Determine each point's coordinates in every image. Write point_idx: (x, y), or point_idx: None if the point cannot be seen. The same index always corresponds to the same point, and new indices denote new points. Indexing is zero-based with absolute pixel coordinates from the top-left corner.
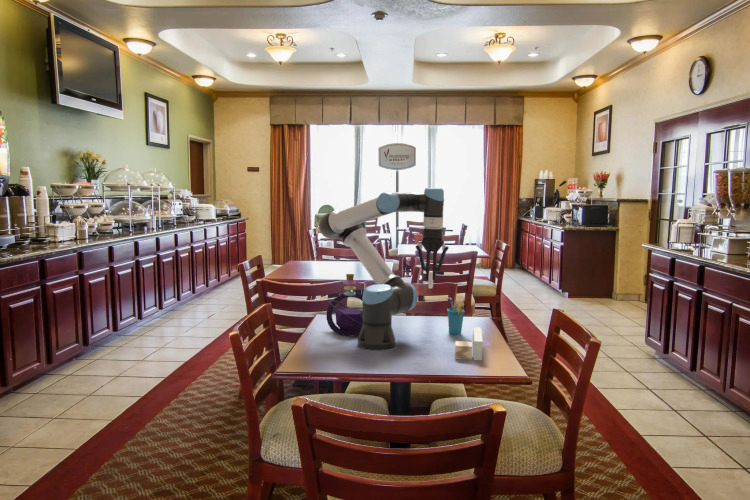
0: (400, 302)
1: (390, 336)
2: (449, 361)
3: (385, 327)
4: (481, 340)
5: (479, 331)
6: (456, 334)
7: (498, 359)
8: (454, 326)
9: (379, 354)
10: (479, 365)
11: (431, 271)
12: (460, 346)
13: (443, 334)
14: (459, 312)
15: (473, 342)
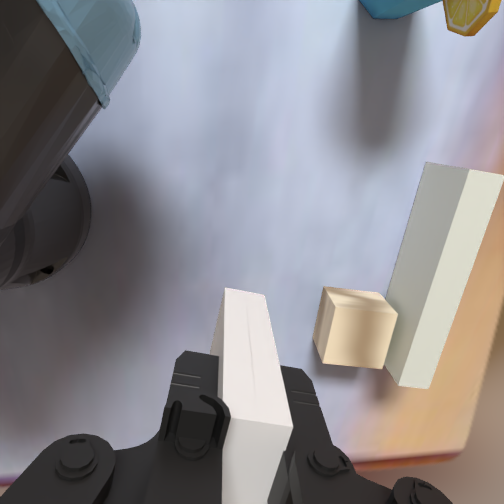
0: (5, 226)
1: (53, 260)
2: (288, 366)
3: (5, 284)
4: (429, 374)
5: (469, 249)
6: (390, 18)
7: (455, 334)
8: (395, 9)
9: (44, 323)
10: (375, 390)
11: (250, 465)
12: (340, 364)
13: (325, 4)
14: (458, 33)
15: (414, 256)
